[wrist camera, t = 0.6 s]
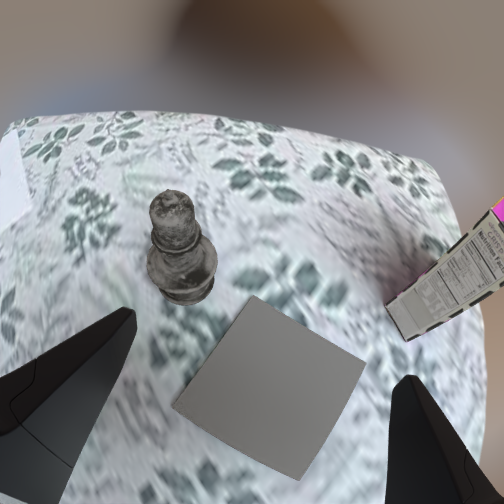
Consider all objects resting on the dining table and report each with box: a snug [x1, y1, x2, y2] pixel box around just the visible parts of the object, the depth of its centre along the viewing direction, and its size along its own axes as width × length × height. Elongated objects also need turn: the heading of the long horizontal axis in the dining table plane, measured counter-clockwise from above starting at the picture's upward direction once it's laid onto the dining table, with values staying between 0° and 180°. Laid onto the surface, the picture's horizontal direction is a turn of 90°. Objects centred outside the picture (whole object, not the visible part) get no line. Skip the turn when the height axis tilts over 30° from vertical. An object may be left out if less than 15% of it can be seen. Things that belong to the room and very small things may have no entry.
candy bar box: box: [385, 196, 504, 342], centre depth 21 cm, size 11×5×16 cm, turn 118°
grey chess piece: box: [147, 189, 218, 305], centre depth 21 cm, size 6×6×12 cm
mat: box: [172, 295, 366, 481], centre depth 22 cm, size 12×12×1 cm
